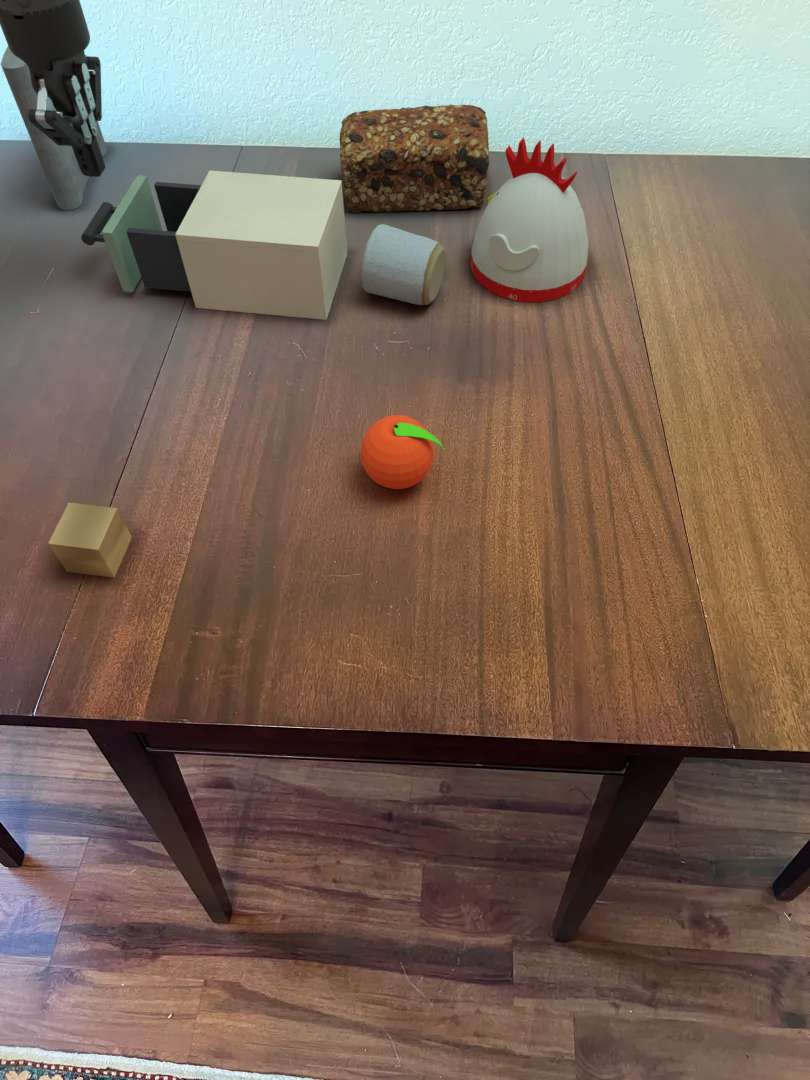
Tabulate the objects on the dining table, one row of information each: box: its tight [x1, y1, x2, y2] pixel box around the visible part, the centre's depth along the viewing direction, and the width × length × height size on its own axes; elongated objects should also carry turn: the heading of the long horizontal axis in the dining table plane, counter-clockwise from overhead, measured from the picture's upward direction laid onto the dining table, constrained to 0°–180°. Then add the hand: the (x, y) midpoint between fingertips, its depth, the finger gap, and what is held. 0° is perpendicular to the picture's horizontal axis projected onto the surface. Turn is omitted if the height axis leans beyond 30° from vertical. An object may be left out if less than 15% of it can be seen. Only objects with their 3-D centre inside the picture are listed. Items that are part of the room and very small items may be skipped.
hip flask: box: [0, 46, 108, 211], centre depth 99 cm, size 16×4×20 cm, turn 178°
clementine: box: [360, 414, 446, 490], centre depth 73 cm, size 8×7×7 cm
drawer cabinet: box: [175, 170, 348, 321], centre depth 90 cm, size 16×13×10 cm
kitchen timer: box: [470, 137, 589, 303], centre depth 89 cm, size 14×14×15 cm
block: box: [47, 502, 133, 579], centre depth 69 cm, size 4×4×4 cm
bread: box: [339, 104, 490, 214], centre depth 100 cm, size 19×11×10 cm, turn 91°
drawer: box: [80, 174, 202, 293], centre depth 91 cm, size 19×11×8 cm, turn 81°
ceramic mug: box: [361, 223, 447, 306], centre depth 90 cm, size 11×8×8 cm
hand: (94, 172), depth 85 cm, fingers closed
